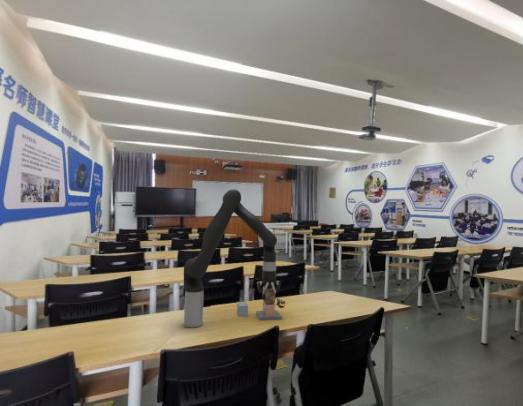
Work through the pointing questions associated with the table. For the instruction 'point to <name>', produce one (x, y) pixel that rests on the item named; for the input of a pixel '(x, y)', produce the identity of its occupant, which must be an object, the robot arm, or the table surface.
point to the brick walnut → (269, 296)
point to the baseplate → (260, 314)
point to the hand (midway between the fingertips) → (268, 299)
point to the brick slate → (242, 309)
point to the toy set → (280, 303)
